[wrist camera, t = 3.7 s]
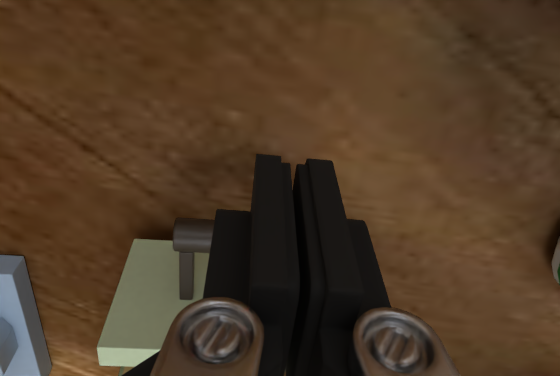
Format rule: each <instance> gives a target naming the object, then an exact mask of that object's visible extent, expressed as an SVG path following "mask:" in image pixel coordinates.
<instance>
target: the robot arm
mask: <svg viewBox="0 0 560 376" xmlns="http://www.w3.org/2000/svg"><path fill="white" fill-rule="evenodd" d="M285 371H286V376H460V374H459V372H458V370H457V369H456V367H455V365H454V363H453V361H452V360H451V358H450V356H449V354H448V352H447V351H446V349H445V347H444V345H443V343H442V342H441V340H440V338H439V337H438V336H437V334H436V333H435V332H434V330H433V329H432V328H431V327H430V326H429V325H428V324H427V323H425V322H424V321H423V320H422V319H421V318H419V317H417V316H415V315H413V314H411V313H409V312H407V311H404V310H400V309H397V308H391V306H390V302H389V299H388V296H387V292H386V289H385V285H384V282H383V279H382V275H381V272H380V269H379V265H378V262H377V259H376V255H375V252H374V249H373V245H372V242H371V239H370V235H369V232H368V229H367V226H366V223H365V222H364V221H363V220H352V219H346V215H345V211H344V207H343V203H342V198H341V194H340V190H339V186H338V182H337V178H336V174H335V170H334V166H333V162H332V161H330V160H319V159H307V160H306V163H305V165H302V164H297V166H296V171H295V178H294V184H293V191H292V179H291V168H290V163H281V156H273V155H262V154H256V162H255V172H254V182H253V193H252V203H251V212H248V211H236V210H223V209H217V210H216V216H215V222H214V228H213V235H212V241H211V248H210V254H209V260H208V267H207V273H206V279H205V286H204V292H203V298H202V299H200V300H198V301H195V302H193V303H191V304H189V305H187V306H186V307H185V308H184V309H182V310H181V311H180V312H179V313H178V314H177V316H176V317H175V319H174V320H173V322H172V323H171V326H170V328H169V330H168V333H167V335H166V338H165V340H164V342H163V345H162V347H161V350H160V351H158V352H157V353H155V354H154V355H152V356H151V357H149V358H147V359H146V360H144V361H143V362H141V363H140V364H138V365H137V366H135V367H134V368H132V369H131V370H129V371H128V372H126V373H124V374H123V375H121V376H284V374H285Z"/></svg>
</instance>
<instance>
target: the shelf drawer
mask: <svg viewBox="0 0 560 376" xmlns="http://www.w3.org/2000/svg"><path fill="white" fill-rule="evenodd" d="M214 222H215V220H209V219H193V218H176V220H175V223H174V229H173V241H166V240H149V239H134V241H133V244H132V247H131V249H130V252H129V255H128V258H127V261H126V264H125V267H124V270H123V273H122V276H121V278H120V281H119V284H118V287H117V290H116V293H115V296H114V299H113V302H112V305H111V307H110V310H109V313H108V316H107V319H106V322H105V325H104V328H103V331H102V334H101V336H100V339H99V342H98V345H97V352H98V358H99V364H100V366H125V367H124V371H123V374H124V373H126V372H128V371H129V370H131V369H132V368H134V367H135V366H137V365H138V364H140V363H141V362H143V361H144V360H146V359H147V358H149V357H151V356H152V355H154V354H155V353H157V352H158V351H160V350H161V347H162V345H163V342H164V340H165V338H166V335H167V333H168V330H169V328H170V326H171V323H172V322H173V320H174V319H175V317H176V316H177V314H178V313H179V312H180V311H181V310H182V309H184V308H185V307H186V306H187V305H189V304H191V303H193V302H195V301H198V300H200V299H202V298H203V292H204V286H205V279H206V273H207V267H208V260H209V254H210V248H211V241H212V235H213V228H214ZM123 374H122V375H123ZM284 376H286V371H285V374H284Z"/></svg>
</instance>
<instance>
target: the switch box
mask: <svg viewBox="0 0 560 376" xmlns="http://www.w3.org/2000/svg"><path fill="white" fill-rule="evenodd" d="M51 368H52V365H51V361H50V357H49V354H48V350H47V346H46V342H45V338H44V334H43V330H42V326H41V322H40V318H39V314H38V310H37V307H36V303H35V299H34V295H33V291H32V287H31V283H30V279H29V275H28V271H27V267H26V263H25V259H24V256H11V255H0V376H48V375H49V373H50V371H51Z"/></svg>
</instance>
